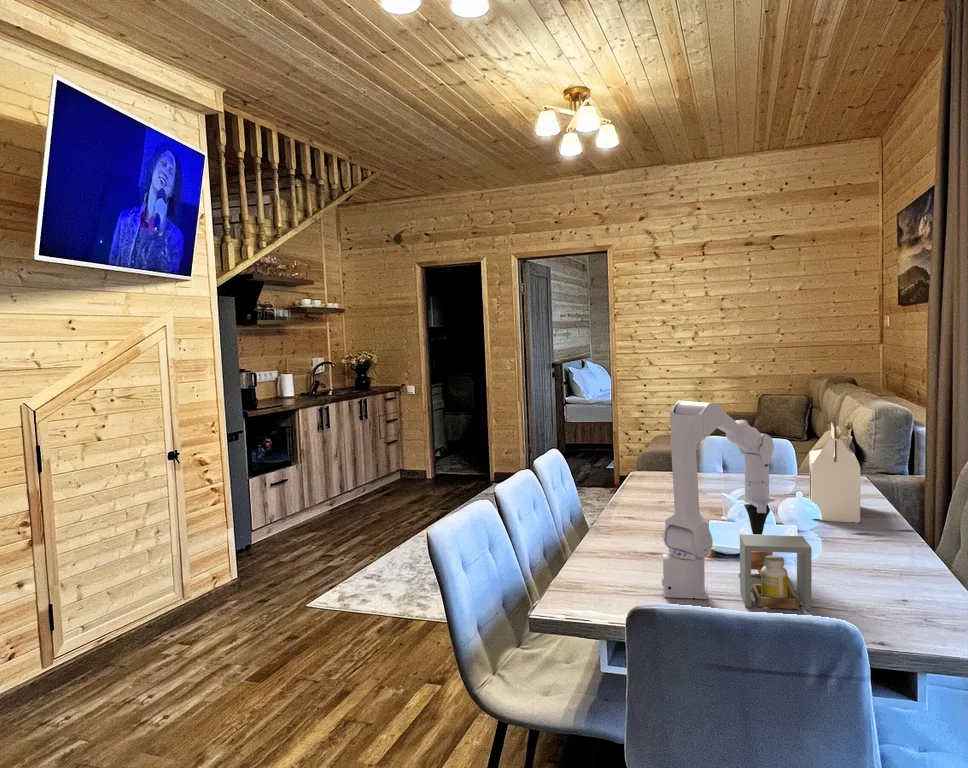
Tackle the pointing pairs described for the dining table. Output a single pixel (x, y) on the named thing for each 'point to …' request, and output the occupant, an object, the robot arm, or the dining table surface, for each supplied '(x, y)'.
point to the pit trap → (757, 580)
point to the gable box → (835, 478)
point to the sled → (769, 602)
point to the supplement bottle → (774, 578)
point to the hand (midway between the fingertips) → (757, 533)
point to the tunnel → (777, 545)
